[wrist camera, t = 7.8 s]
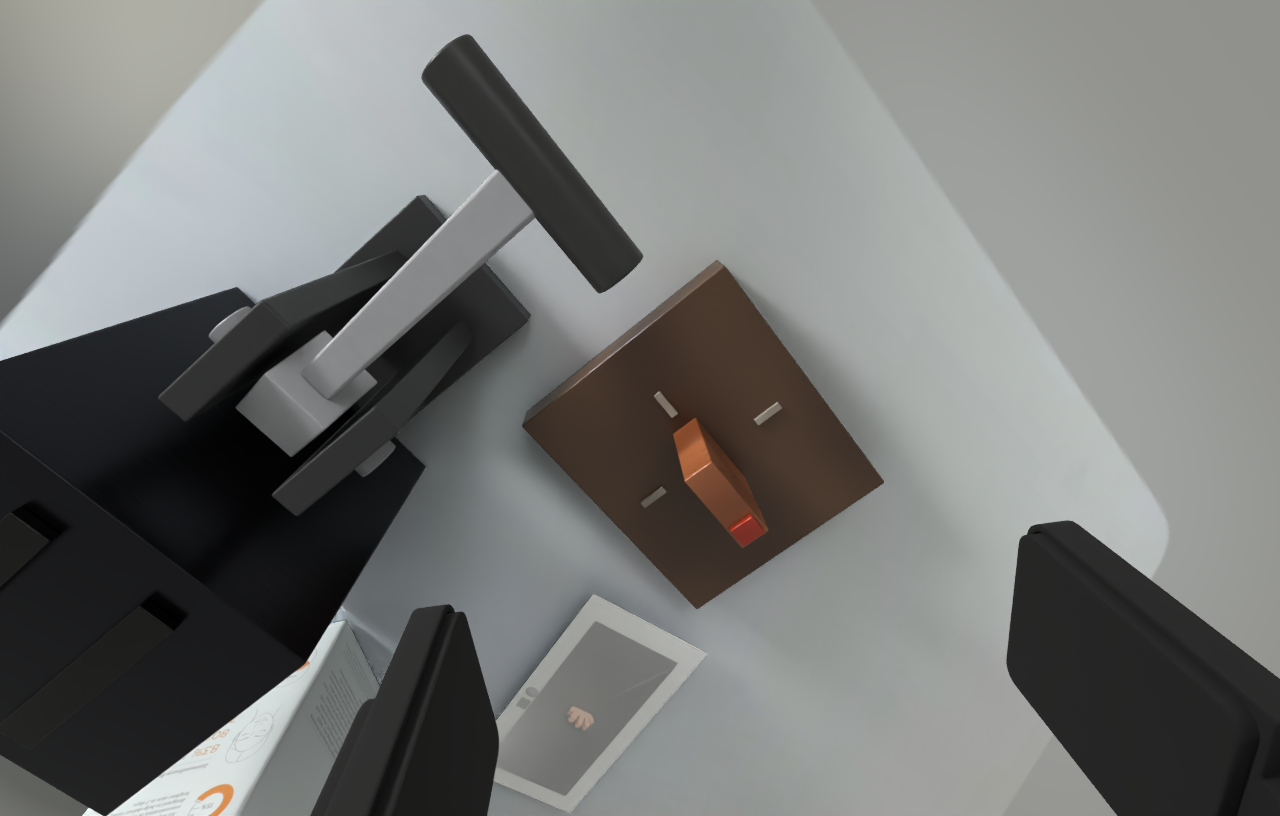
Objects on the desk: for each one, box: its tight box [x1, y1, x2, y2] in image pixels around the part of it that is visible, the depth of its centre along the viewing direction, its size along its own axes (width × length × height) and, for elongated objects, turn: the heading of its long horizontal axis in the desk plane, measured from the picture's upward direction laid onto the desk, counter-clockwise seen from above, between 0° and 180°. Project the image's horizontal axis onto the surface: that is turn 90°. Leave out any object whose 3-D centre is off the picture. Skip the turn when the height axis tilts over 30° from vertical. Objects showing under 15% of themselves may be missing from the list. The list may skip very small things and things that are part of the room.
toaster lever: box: [236, 34, 643, 457], centre depth 16 cm, size 14×5×2 cm, turn 127°
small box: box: [83, 621, 380, 816], centre depth 31 cm, size 8×6×13 cm
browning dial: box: [522, 260, 884, 609], centre depth 32 cm, size 12×14×2 cm
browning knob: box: [673, 418, 768, 548], centre depth 29 cm, size 4×1×5 cm, turn 38°
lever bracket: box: [158, 195, 531, 516], centre depth 24 cm, size 9×7×13 cm
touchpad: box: [493, 593, 708, 813], centre depth 38 cm, size 8×15×2 cm, turn 146°
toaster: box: [0, 287, 425, 816], centre depth 25 cm, size 10×12×14 cm
